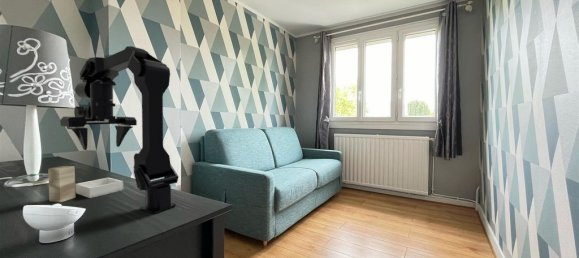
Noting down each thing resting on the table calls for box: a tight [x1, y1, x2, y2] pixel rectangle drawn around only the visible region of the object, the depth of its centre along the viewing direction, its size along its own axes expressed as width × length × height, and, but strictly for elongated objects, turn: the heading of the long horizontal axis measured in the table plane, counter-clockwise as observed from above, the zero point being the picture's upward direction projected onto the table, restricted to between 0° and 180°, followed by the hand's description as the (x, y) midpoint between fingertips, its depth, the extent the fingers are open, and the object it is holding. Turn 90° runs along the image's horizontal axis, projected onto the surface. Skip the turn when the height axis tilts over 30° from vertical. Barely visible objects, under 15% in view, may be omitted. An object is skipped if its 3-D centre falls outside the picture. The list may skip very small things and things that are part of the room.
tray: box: [75, 177, 124, 199], centre depth 78 cm, size 9×9×3 cm
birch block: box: [47, 165, 76, 203], centre depth 70 cm, size 4×4×10 cm
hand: (102, 148), depth 77 cm, fingers open, 9 cm apart
